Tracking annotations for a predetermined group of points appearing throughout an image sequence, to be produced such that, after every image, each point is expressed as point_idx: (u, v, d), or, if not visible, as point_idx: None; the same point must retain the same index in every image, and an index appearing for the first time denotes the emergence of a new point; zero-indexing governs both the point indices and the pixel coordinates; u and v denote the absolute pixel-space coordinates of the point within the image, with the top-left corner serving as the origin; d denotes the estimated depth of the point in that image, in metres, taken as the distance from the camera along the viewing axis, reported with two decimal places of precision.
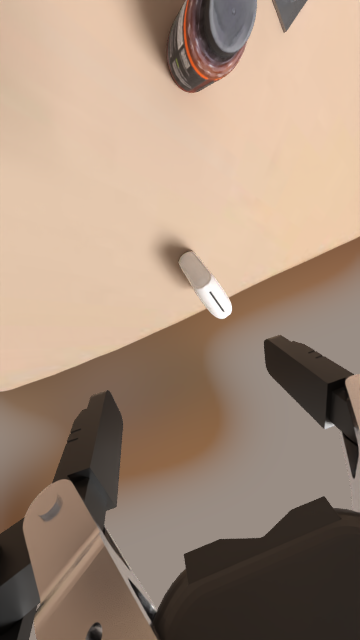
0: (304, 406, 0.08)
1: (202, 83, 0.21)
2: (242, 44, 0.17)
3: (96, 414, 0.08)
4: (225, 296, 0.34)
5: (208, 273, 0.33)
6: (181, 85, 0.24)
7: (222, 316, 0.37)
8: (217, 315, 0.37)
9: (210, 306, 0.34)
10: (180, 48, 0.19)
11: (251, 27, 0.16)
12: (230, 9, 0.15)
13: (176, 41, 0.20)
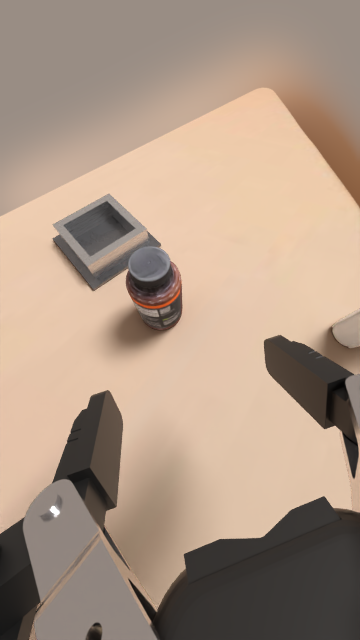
0: (304, 406, 0.08)
1: (180, 297, 0.23)
2: (166, 255, 0.19)
3: (96, 414, 0.08)
4: None
5: None
6: (177, 319, 0.27)
7: None
8: None
9: None
10: (158, 314, 0.23)
11: (159, 248, 0.19)
12: (148, 265, 0.19)
13: (154, 317, 0.24)
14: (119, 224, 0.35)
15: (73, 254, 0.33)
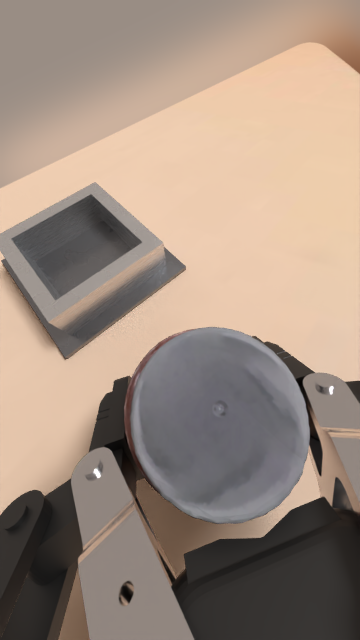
0: None
1: None
2: (285, 369, 0.05)
3: (122, 395, 0.08)
4: None
5: None
6: None
7: None
8: None
9: None
10: None
11: (248, 339, 0.05)
12: (216, 424, 0.04)
13: None
14: (114, 233, 0.21)
15: None
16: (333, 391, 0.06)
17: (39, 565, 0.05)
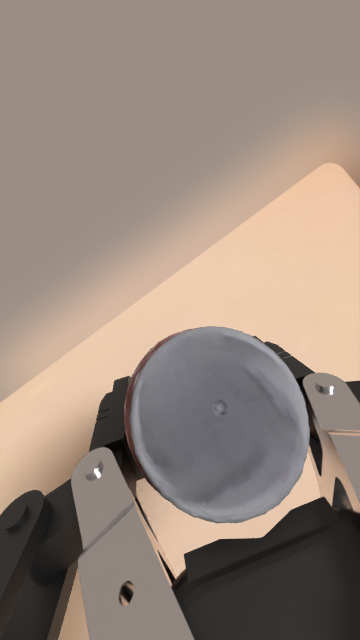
0: None
1: None
2: (285, 368, 0.05)
3: (122, 395, 0.08)
4: None
5: None
6: None
7: None
8: None
9: None
10: None
11: (248, 339, 0.05)
12: (216, 424, 0.04)
13: None
14: None
15: None
16: (333, 391, 0.06)
17: (39, 565, 0.05)
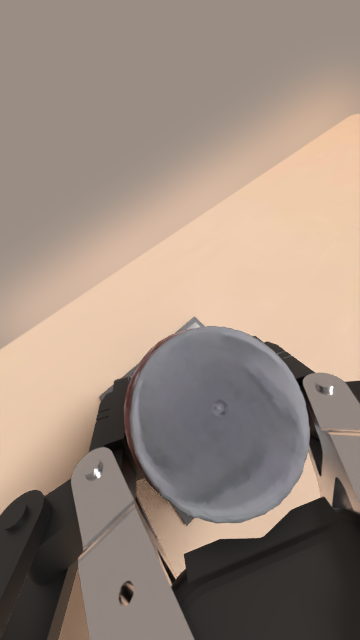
0: None
1: None
2: (285, 368, 0.05)
3: (122, 395, 0.08)
4: None
5: None
6: None
7: None
8: None
9: None
10: None
11: (248, 338, 0.05)
12: (216, 423, 0.04)
13: None
14: None
15: None
16: (333, 391, 0.06)
17: (39, 565, 0.05)
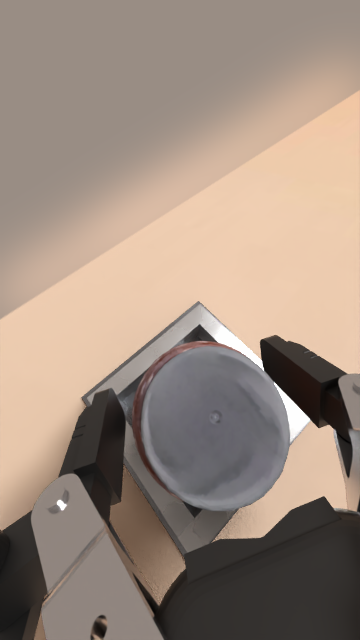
0: (299, 405, 0.08)
1: None
2: (271, 383, 0.06)
3: (100, 411, 0.08)
4: None
5: None
6: None
7: None
8: None
9: None
10: None
11: (240, 357, 0.06)
12: (212, 430, 0.05)
13: None
14: None
15: None
16: None
17: None
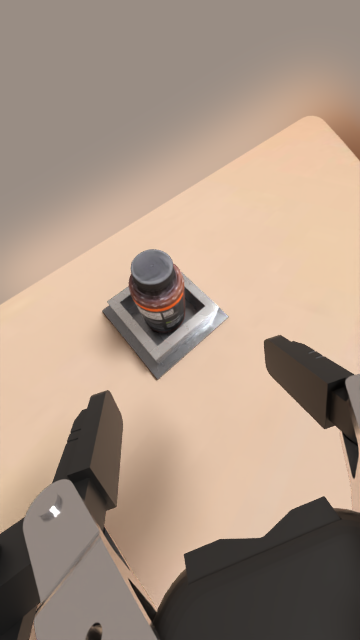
0: (304, 406, 0.08)
1: (183, 300, 0.23)
2: (169, 257, 0.19)
3: (96, 414, 0.08)
4: None
5: None
6: (180, 322, 0.27)
7: None
8: None
9: None
10: (162, 317, 0.23)
11: (161, 251, 0.19)
12: (150, 268, 0.18)
13: (157, 320, 0.23)
14: None
15: (128, 331, 0.28)
16: None
17: None
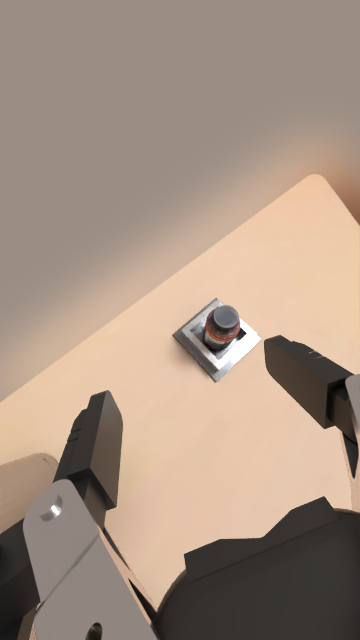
0: (304, 406, 0.08)
1: None
2: None
3: (96, 414, 0.08)
4: None
5: None
6: None
7: None
8: None
9: None
10: (224, 343, 0.36)
11: (230, 306, 0.32)
12: (226, 317, 0.32)
13: (220, 344, 0.37)
14: None
15: (193, 349, 0.41)
16: None
17: None
